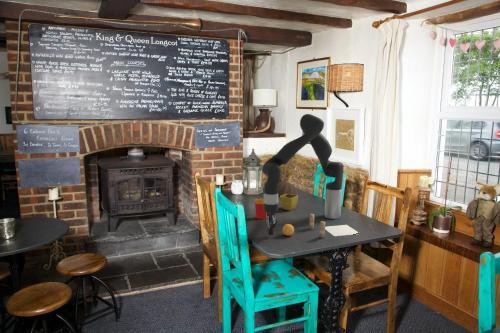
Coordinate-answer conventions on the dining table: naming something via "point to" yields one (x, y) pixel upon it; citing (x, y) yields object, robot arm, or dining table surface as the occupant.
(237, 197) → the dining table surface
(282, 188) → the decorative dome
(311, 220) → the left post
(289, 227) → the ball
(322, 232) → the right post
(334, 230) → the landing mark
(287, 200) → the flower pot
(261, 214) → the french fries
